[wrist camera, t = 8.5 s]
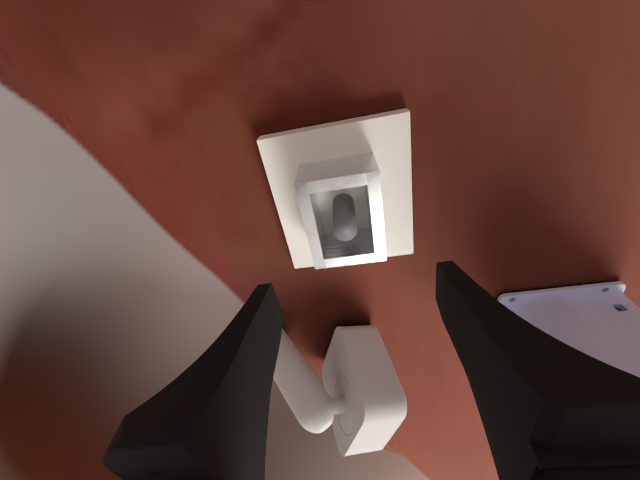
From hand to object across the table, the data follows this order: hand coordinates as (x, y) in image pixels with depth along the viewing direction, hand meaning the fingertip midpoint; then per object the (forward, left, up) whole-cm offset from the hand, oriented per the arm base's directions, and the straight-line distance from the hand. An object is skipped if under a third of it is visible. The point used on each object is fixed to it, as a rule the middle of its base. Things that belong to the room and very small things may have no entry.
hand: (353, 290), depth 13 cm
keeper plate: (0, 0, -9) cm, 9 cm away
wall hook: (+5, +15, -10) cm, 18 cm away
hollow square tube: (0, 0, -8) cm, 8 cm away
